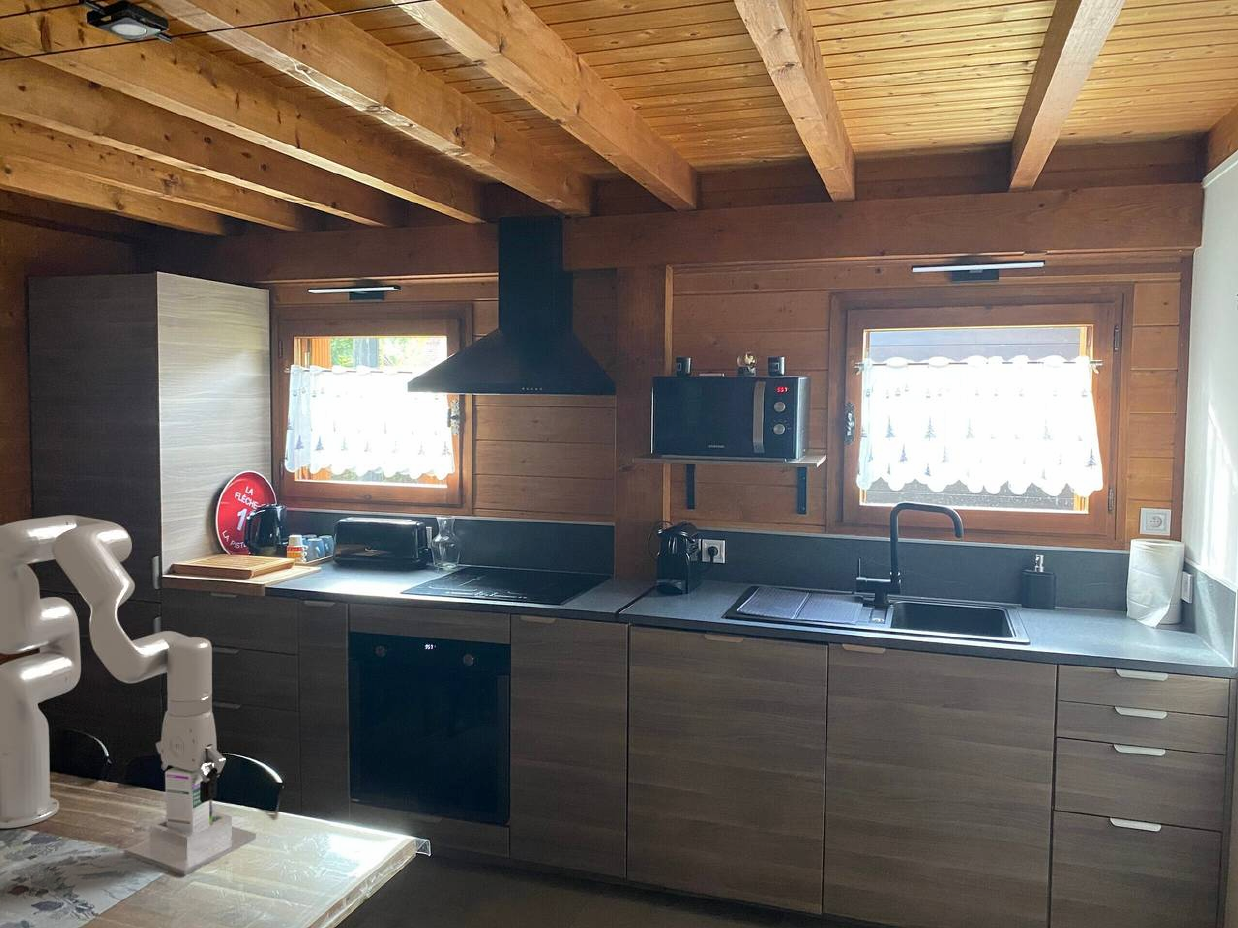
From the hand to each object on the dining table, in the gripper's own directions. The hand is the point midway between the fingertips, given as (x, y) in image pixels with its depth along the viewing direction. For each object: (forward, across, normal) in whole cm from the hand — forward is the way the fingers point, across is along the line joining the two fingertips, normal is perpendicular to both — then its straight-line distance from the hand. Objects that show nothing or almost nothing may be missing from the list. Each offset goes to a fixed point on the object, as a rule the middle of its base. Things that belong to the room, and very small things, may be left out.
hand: (190, 794), depth 175 cm
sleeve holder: (+10, 0, 0) cm, 10 cm away
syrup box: (+9, 0, 0) cm, 9 cm away
